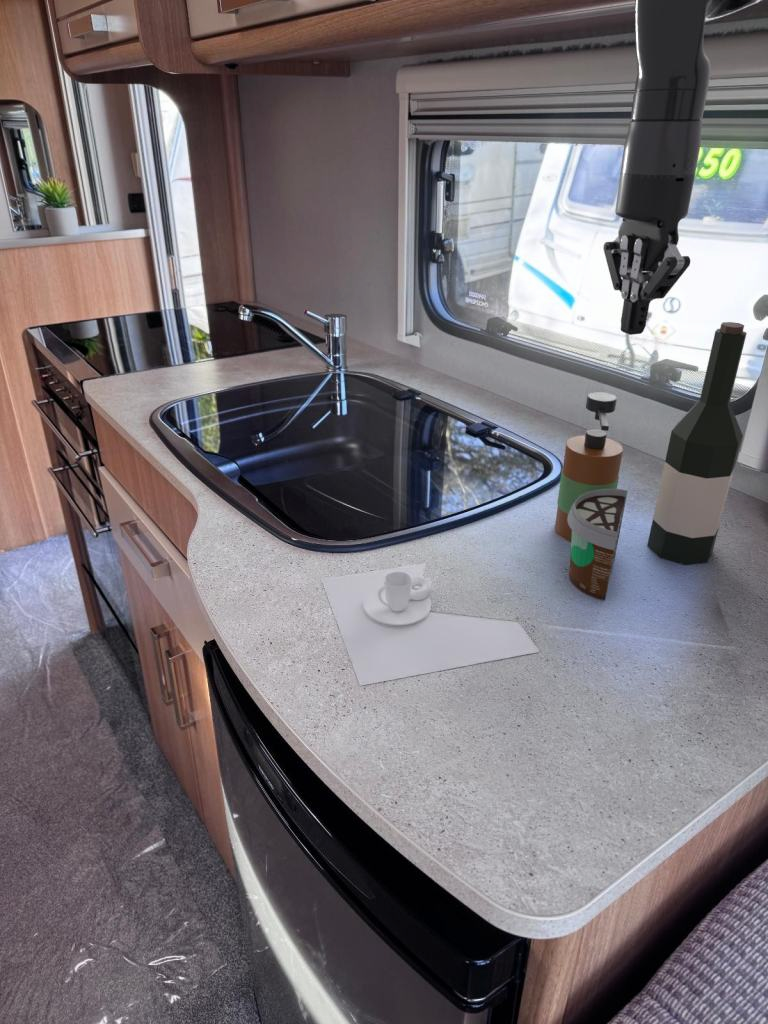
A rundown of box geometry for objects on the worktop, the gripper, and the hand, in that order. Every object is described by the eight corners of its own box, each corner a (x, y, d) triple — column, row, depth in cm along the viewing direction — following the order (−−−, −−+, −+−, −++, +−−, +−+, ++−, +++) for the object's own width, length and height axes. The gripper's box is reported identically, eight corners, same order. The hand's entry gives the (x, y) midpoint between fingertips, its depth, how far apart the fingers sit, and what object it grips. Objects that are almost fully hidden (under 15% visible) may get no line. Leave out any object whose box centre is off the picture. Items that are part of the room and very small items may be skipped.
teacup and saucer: (425, 582, 89) (426, 554, 87) (447, 620, 83) (448, 591, 81) (356, 593, 87) (355, 565, 85) (373, 633, 80) (373, 603, 78)
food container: (568, 547, 97) (578, 480, 92) (615, 556, 95) (628, 488, 90) (550, 596, 87) (561, 524, 82) (603, 608, 85) (617, 534, 80)
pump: (611, 415, 94) (615, 392, 93) (618, 442, 86) (622, 419, 84) (583, 412, 95) (586, 391, 93) (587, 440, 86) (591, 416, 85)
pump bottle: (606, 521, 103) (623, 424, 96) (610, 547, 97) (629, 446, 90) (553, 516, 104) (566, 420, 97) (554, 542, 98) (568, 441, 91)
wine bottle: (705, 536, 100) (761, 317, 85) (719, 569, 92) (782, 336, 78) (643, 530, 101) (687, 314, 87) (651, 562, 94) (701, 332, 79)
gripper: (592, 166, 81) (573, 322, 89) (668, 174, 70) (638, 351, 78) (649, 165, 83) (625, 317, 91) (731, 172, 72) (696, 344, 80)
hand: (631, 332), depth 85 cm, fingers closed
